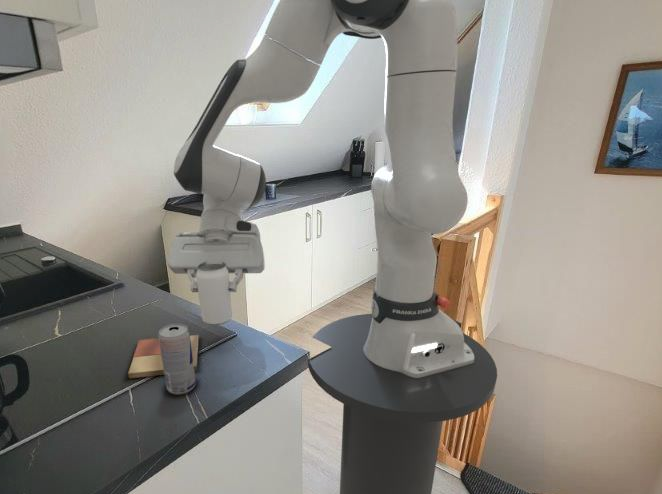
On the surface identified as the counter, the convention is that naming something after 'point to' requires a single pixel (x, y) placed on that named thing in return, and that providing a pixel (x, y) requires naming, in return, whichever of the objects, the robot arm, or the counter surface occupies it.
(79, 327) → the counter surface
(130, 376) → the square wooden board
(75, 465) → the counter surface
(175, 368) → the energy drink
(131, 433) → the counter surface
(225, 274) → the can
